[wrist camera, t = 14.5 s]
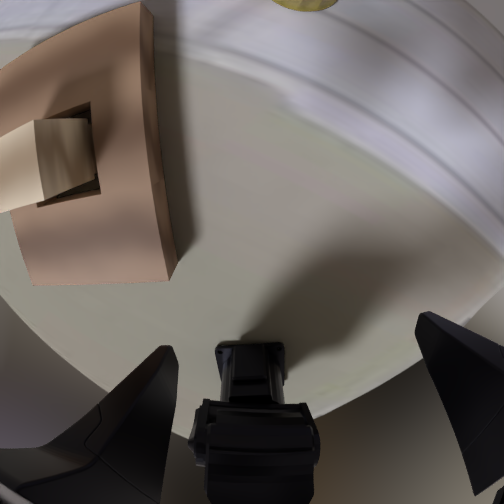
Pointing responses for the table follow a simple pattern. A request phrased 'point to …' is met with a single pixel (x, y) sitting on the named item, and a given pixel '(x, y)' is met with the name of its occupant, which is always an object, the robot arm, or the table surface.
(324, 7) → the vase
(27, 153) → the peg
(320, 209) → the table surface
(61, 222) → the board
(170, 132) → the table surface
